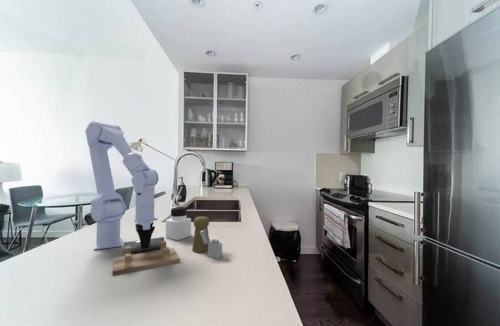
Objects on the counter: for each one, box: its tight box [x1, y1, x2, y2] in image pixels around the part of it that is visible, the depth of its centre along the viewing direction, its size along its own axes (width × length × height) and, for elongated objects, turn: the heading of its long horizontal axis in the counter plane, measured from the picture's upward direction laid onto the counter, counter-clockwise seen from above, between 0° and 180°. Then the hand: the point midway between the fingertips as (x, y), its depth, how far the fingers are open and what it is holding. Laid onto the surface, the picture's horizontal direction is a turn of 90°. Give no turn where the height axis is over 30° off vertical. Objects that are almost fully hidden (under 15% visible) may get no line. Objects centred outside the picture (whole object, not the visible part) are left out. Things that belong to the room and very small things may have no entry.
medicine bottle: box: [165, 205, 192, 241], centre depth 90 cm, size 7×7×12 cm
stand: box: [111, 240, 181, 276], centre depth 66 cm, size 10×17×4 cm, turn 119°
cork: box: [191, 216, 210, 254], centre depth 76 cm, size 6×6×11 cm
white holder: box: [200, 229, 223, 259], centre depth 71 cm, size 7×2×8 cm, turn 72°
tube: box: [123, 236, 165, 255], centre depth 75 cm, size 4×12×4 cm, turn 119°
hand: (144, 246), depth 75 cm, fingers closed on tube, 4 cm apart
